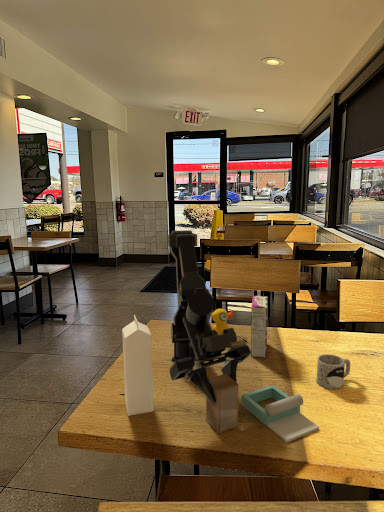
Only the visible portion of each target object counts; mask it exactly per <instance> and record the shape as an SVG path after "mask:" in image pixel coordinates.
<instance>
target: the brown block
mask: <svg viewBox="0 0 384 512" xmlns="http://www.w3.org/2000/svg"><path fill="white" fill-rule="evenodd" d="M208 380H209V382H210V385H211V387H212V390H213V392H214V395H215V398H216V402H215V403H212V401H211V400H210V399H209V398H208V397H207V396H206V395H205V396H206V398H205V402H206V403H205V408H206V409H205V411H206V412H205V413H206V414H205V417H206V419H205V421H206V422H207V423H208V424H209V425H210V427H211V428H213V430H214V431H215V432H216V434H220V433H223V432H226V431H229V430H232V429H233V428H237V427H239V426H238V423H239V422H238V421H239V416H238V415H239V383H238V382H237V383H236V382H235V381H234V380H233V379H231V378H230V377H229V376H228V375H226V374H223V373H222V374H220V375H217V376H213V377H208Z"/></svg>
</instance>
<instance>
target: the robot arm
mask: <svg viewBox="0 0 384 512" xmlns="http://www.w3.org/2000/svg"><path fill="white" fill-rule="evenodd" d="M167 246H168V247H169V248H170V249H169V250H170V254H171V255H172V257H173V258H174V259H175V269H176V272H175V273H176V291H177V292H176V293H177V294H176V295H177V310H176V311H175V313H174V315H173V319H172V321H173V322H171V326H170V339H171V343H172V344H173V357H171V358H170V359H171V361H172V362H174V363H173V364H172V365H171V366H170V369H169V376H170V379H171V381H176V380H182V379H184V378H185V377H186V375H187V377H186V378H185V380H186V382H188V381H191V383H193V385H194V386H196V387H197V388H198V389H199V390H200V391H201V392H202V394H204V396H207V397H208V398H209V399H210V400H211V401H212V403H215V402H216V398H215V395H214V392H213V390H212V387H211V385H210V382H209V380H208V379H209V377H208V372H207V367H210V366H213V365H218V364H222V368H221V369H220V371H221V374H222V375H223V374H226V375H228V376H229V377H230V378H231V379H233V380H234V381H235V382H236V383H238V382H237V380H238V379H237V368H238V364H241V363H243V361H245V360H247V358H249V357H250V356H251V354H252V352H251V347H250V346H249V345H248V344H246V343H244V342H243V343H241V344H237V345H233V343H236V342H238V337H237V333H236V331H235V329H234V328H233V327H229V328H228V329H224V330H223V334H220V335H218V334H217V331H216V330H212V328H211V326H210V324H211V322H210V321H211V318H212V317H211V315H212V313H213V312H214V308H215V300H214V299H215V298H214V296H213V295H212V294H211V293H210V289H208V288H207V285H206V281H205V279H204V278H203V277H202V276H201V275H200V274H199V267H198V262H197V256H196V250H195V248H196V247H198V234H197V233H194V232H193V231H192V230H189V229H188V230H171V234H167ZM209 322H210V323H209ZM226 349H228V350H227V351H226ZM225 351H226V352H225ZM222 352H223V353H222Z"/></svg>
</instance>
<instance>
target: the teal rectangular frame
mask: <svg viewBox="0 0 384 512" xmlns="http://www.w3.org/2000/svg"><path fill="white" fill-rule="evenodd" d="M240 398H241V399H240V401H241V404H240V405H241V406H243V408H245V409H246V410H247V411H248V412H250V413H251V414H252V415H253V416H254V417H255V418H256V419H258V420H259V421H260V422H261V423H262V424H263V425H265V426H266V427H268V428H269V429H270V430H272V432H274V433H275V434H276V435H277V436H279V438H280V439H282V440H283V441H284V442H285V443H290V442H291V441H294V440H296V439H298V438H301V437H304V436H307V435H308V434H311V433H314V432H316V431H318V430H320V429H319V428H320V426H319V425H318V424H316V423H315V422H313V421H312V420H310V419H309V418H308V417H307V416H305V415H304V414H302V413H301V412H300V410H301V406H303V405H304V398H303V396H302V395H301V394H299V393H298V394H294V395H292V396H289V395H288V394H287V393H285V392H283V390H281V389H279V388H278V387H276V386H275V385H274V384H272V385H268V386H264V387H262V388H258V389H256V390H253V391H249V392H245V393H244V394H241V397H240ZM270 398H272V399H274V400H275V401H274V402H272V403H268V404H266V405H265V406H264V408H263V407H262V406H261V405H259V404H258V402H261V401H264V400H268V399H270Z"/></svg>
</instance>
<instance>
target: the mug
mask: <svg viewBox="0 0 384 512" xmlns="http://www.w3.org/2000/svg"><path fill="white" fill-rule="evenodd" d="M350 372H351V360H349V359H348V358H342V357H340V356H338V355H336V354H335V355H334V354H325V353H324V354H320V355H319V356H318V357H317V366H316V384H317V385H318V386H319V387H321V388H323V389H326V390H330V391H337V390H341V389H343V387H344V378H346V377H348V375H350Z"/></svg>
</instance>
